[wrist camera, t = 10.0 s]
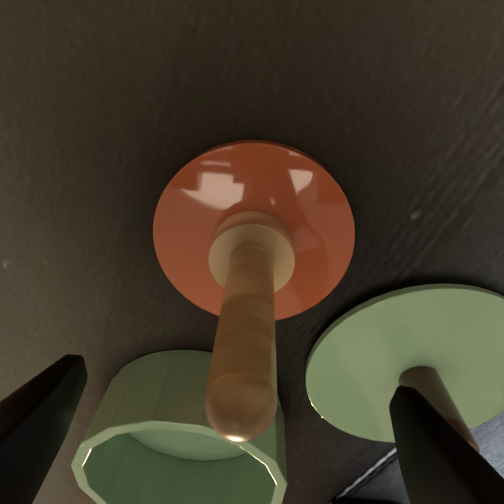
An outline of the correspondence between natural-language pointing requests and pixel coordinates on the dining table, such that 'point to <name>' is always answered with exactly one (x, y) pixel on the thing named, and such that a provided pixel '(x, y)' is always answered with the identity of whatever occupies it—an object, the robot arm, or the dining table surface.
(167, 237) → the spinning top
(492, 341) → the pot lid
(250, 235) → the pestle
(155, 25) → the dining table surface
